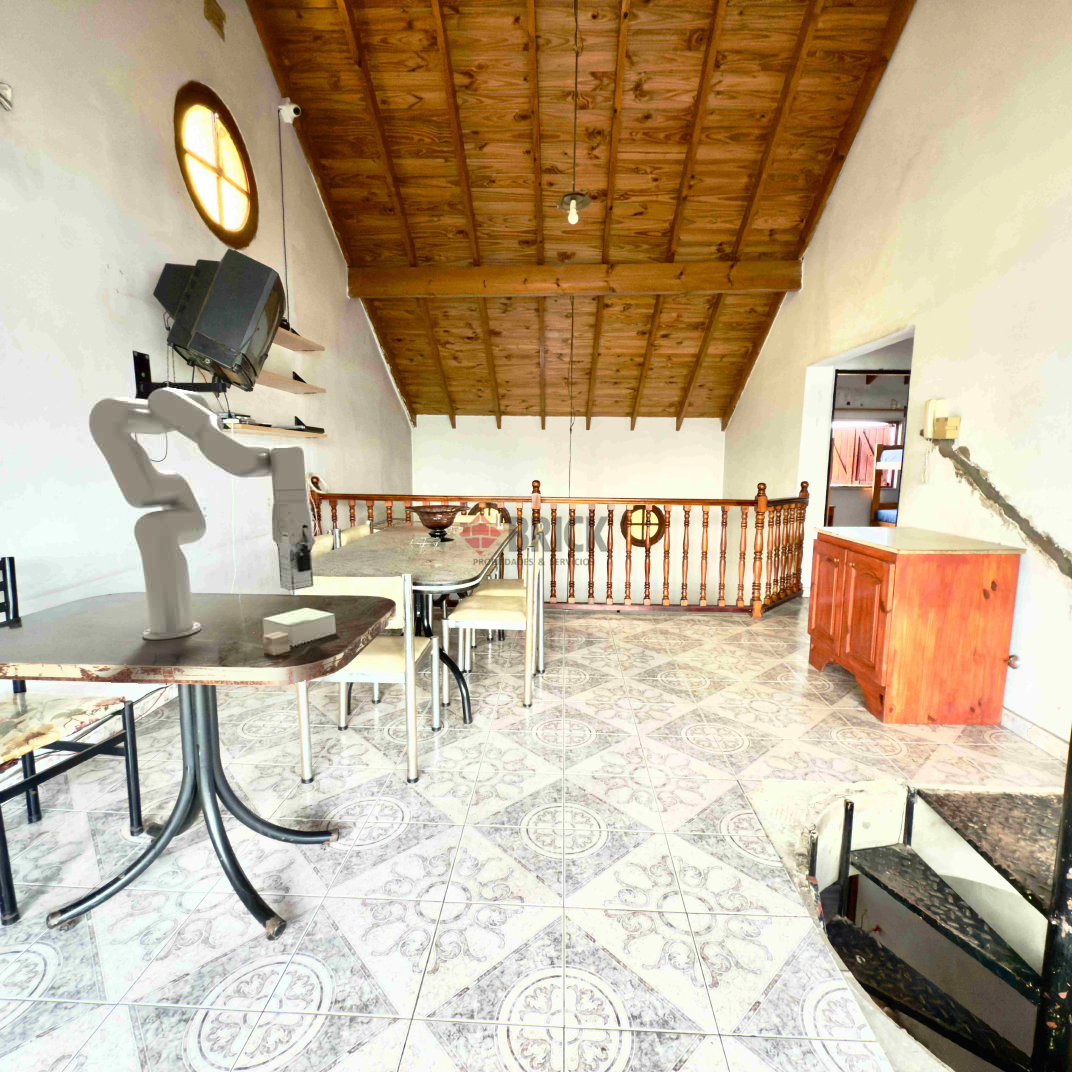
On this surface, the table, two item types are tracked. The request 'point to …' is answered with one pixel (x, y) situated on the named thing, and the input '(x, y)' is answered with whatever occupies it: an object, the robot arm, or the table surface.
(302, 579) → the syrup box
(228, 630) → the table surface
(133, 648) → the table surface
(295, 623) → the podium
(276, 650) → the ash block
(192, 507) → the robot arm
